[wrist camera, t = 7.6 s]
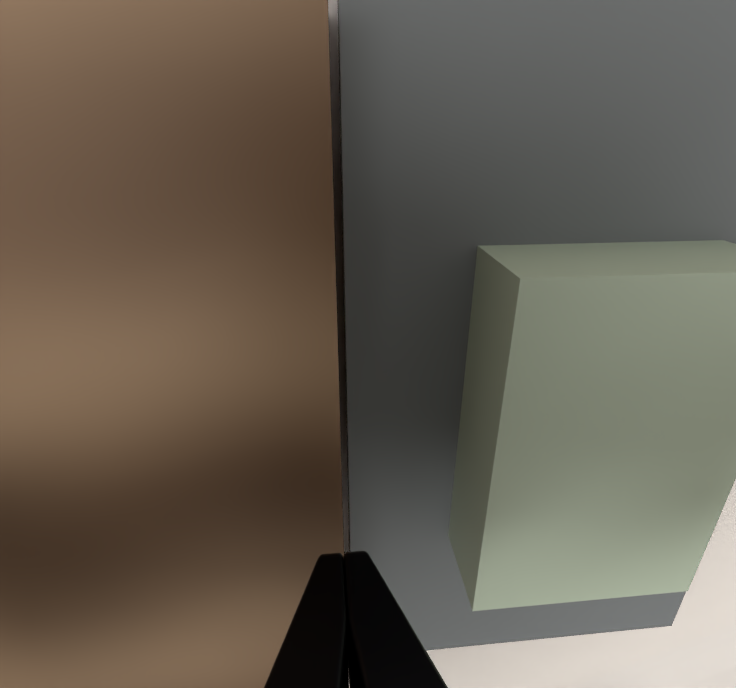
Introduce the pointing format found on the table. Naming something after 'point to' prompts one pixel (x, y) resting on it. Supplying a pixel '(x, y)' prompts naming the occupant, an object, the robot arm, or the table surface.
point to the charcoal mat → (501, 233)
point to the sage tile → (594, 419)
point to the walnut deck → (164, 338)
